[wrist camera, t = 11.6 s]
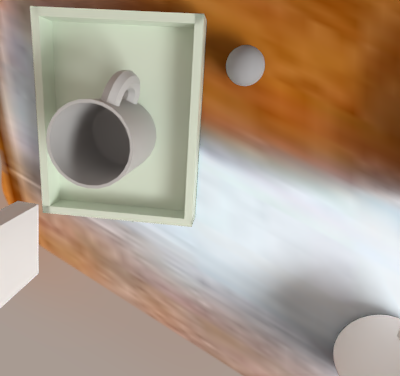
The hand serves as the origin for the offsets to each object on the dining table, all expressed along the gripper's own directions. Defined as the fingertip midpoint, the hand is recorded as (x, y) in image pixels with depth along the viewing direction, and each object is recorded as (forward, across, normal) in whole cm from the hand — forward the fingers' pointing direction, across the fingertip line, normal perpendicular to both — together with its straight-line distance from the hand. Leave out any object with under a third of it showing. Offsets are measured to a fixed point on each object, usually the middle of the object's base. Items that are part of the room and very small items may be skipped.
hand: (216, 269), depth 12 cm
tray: (+25, -12, +2) cm, 28 cm away
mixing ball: (+24, 0, +8) cm, 25 cm away
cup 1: (+25, -11, +2) cm, 27 cm away
